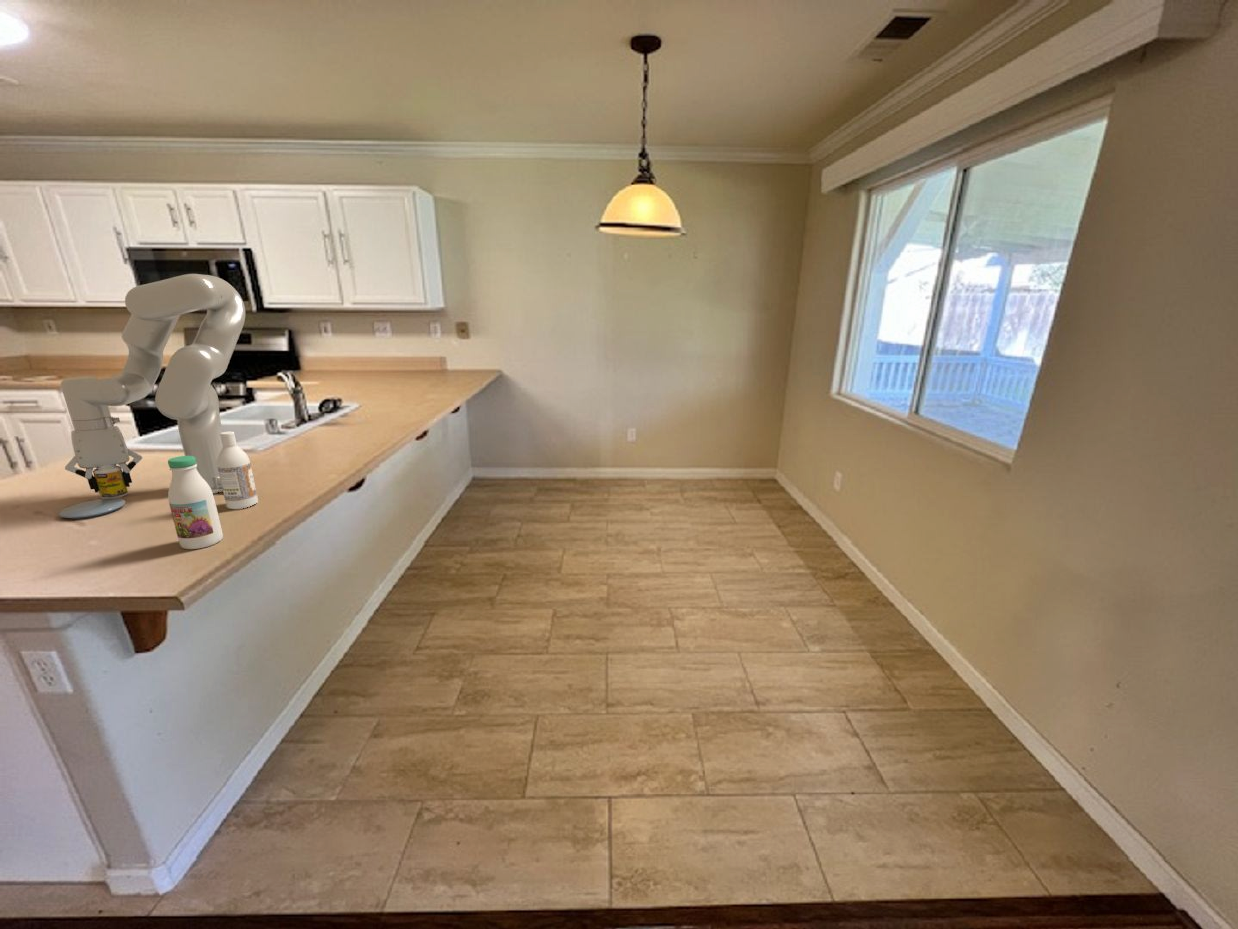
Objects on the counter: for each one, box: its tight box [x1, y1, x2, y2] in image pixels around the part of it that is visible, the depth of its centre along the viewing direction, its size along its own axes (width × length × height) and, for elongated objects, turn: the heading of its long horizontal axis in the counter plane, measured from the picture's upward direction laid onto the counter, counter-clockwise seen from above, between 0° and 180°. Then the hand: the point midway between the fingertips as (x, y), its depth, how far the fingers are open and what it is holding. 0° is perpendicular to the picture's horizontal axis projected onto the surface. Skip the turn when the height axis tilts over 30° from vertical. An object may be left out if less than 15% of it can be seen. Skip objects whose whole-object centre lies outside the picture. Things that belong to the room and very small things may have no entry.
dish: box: [58, 498, 126, 520], centre depth 132 cm, size 12×12×1 cm
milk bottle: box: [167, 455, 224, 550], centre depth 113 cm, size 8×8×20 cm
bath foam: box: [217, 431, 259, 510], centre depth 135 cm, size 7×7×20 cm
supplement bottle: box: [92, 464, 129, 499], centre depth 141 cm, size 6×6×10 cm
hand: (112, 487), depth 142 cm, fingers closed on supplement bottle, 5 cm apart
